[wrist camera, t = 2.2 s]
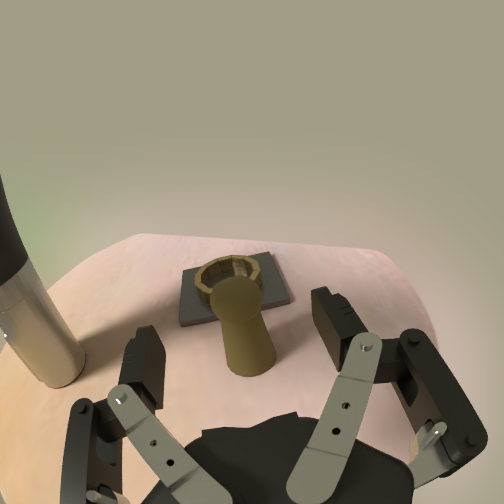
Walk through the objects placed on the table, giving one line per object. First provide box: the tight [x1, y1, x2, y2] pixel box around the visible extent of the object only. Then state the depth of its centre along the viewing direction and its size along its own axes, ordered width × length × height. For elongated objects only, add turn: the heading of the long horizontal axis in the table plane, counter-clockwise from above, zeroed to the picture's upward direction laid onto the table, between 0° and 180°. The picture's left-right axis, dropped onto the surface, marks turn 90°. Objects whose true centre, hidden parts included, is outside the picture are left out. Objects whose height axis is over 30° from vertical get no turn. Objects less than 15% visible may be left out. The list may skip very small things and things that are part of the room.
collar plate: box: [179, 251, 290, 327], centre depth 45 cm, size 16×14×3 cm
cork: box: [210, 276, 276, 377], centre depth 30 cm, size 6×6×11 cm
